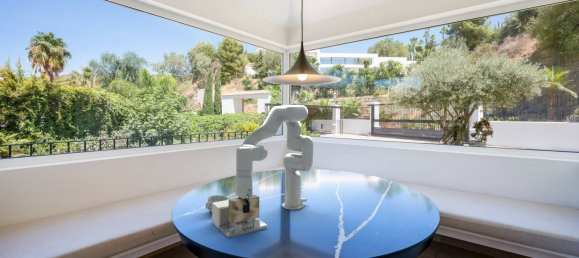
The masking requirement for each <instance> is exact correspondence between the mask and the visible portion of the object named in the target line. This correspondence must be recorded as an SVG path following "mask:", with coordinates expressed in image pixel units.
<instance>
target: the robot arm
mask: <svg viewBox="0 0 579 258" xmlns="http://www.w3.org/2000/svg"><path fill="white" fill-rule="evenodd" d="M308 115H309V111H308V108H307V107H306V106H305V105H303V104H301V105H300V104H296V105H295V104H285V105H277V106H273V107H272V108H271V110H270V111H269V113H268V115H266V117H265V119H264V121H263V123H262V125H260V126H259V127H258V128H256V129H254V130H253V131H252V132H251V133H249V134H248V135H247V136H246V138H245V139H244V141H243V142H242V144H241V146H238V147H237V148H236V152H235V153H236V155H235V157H236V158H235V159H236V161H235V163H236V165H235V166H236V167H235V169H236V170H235V173H236V175H235V176H236V178H235V192H234V193H235V195H236V196H237V198H242V199H244V205H243V213H249V212H250V202H251V201H252V195H254V191H253V190H254V189H253V176H254V175H253V174H254V173H253V169H254V168H253V162H261V161H263V160H265V159H267V156H268V153H269V152H268V149H267V148H266V146H264V145H260V144H259V145H258V143H259V142H261V141H264V140H267V139H269V138H273V137H274V136H275V135H277V133H278V130H279V129H280V127H281V125H282V123H285V125H286V148H287V149H288V150H289V151H291V153H287V154H285V156H284V157H283V161H282V163H283V169H284V202H282V203H281V207H282V208H283V209H284V210H285V209H286V210H291V211H293V210H295V211H296V210H300V209H303V208H304V204H303V203H305V202H308V199H307V198H306V197H304V198H303V197H301V195H302V194H301V193H302V175H301V173H300V172H304V173H305V172H306V173H307V172H310V171H311V169H312V168H313V163H314V160H313V159H314V141H313V139H312V138H311V136H308V135H303V134H302V129H303V128H302V124H301V122H302V121H304V120H306V119H307V117H308ZM293 152H299V153H293ZM247 196H248V197H247ZM246 197H247V198H246ZM246 199H248V200H246Z"/></svg>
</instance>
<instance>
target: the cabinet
mask: <svg viewBox="0 0 579 258" xmlns="http://www.w3.org/2000/svg"><path fill="white" fill-rule="evenodd" d="M211 222H212V224H213V225H214V226H215V227H216V228H217V229H218V225H222V224H227V223H229V199H227V200H225V201H219V202H213V203H212V212H211Z"/></svg>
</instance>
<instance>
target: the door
mask: <svg viewBox="0 0 579 258" xmlns="http://www.w3.org/2000/svg"><path fill="white" fill-rule="evenodd" d="M247 197H248V196H247ZM247 197H246V198H247ZM228 200H229V221H230V222H231V223H235V222H240V221H245V220H249V219H254V218H258V219H259V218H260V196H258V195H257V194H253V195H252V201H251V202H250V212H249V213H243V205H244V199H242V198H239V197H234V198H228ZM246 200H248V199H246Z"/></svg>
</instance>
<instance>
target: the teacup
mask: <svg viewBox="0 0 579 258" xmlns="http://www.w3.org/2000/svg"><path fill="white" fill-rule="evenodd" d="M225 200H229V198H228V197H227V196H226V195H219V194H217V195H211V196H208V197H207V202H206V203H205V208H206V210H208V211H210V213H212V203H213V202H219V201H225Z"/></svg>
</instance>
